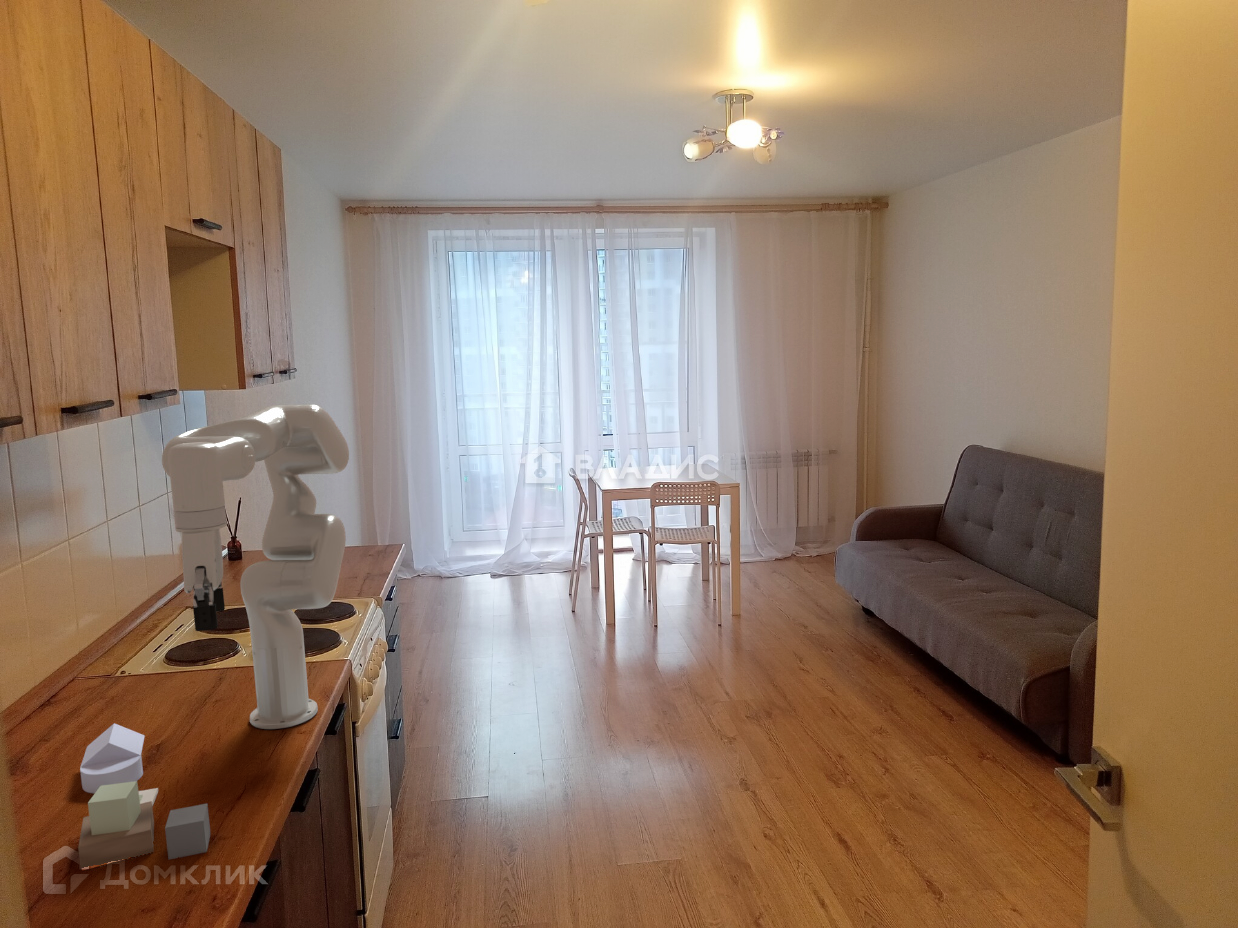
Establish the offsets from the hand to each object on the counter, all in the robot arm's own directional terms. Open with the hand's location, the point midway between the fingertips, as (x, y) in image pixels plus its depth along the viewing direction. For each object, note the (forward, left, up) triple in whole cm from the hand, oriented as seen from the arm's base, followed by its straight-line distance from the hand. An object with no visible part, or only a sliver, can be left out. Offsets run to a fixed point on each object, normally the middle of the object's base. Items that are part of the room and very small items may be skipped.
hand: (210, 620), depth 141 cm
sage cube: (+15, -13, -25) cm, 32 cm away
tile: (+3, -14, -28) cm, 32 cm away
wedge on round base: (-10, -19, -29) cm, 36 cm away
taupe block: (+15, -13, -29) cm, 35 cm away
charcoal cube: (+19, -3, -28) cm, 34 cm away
